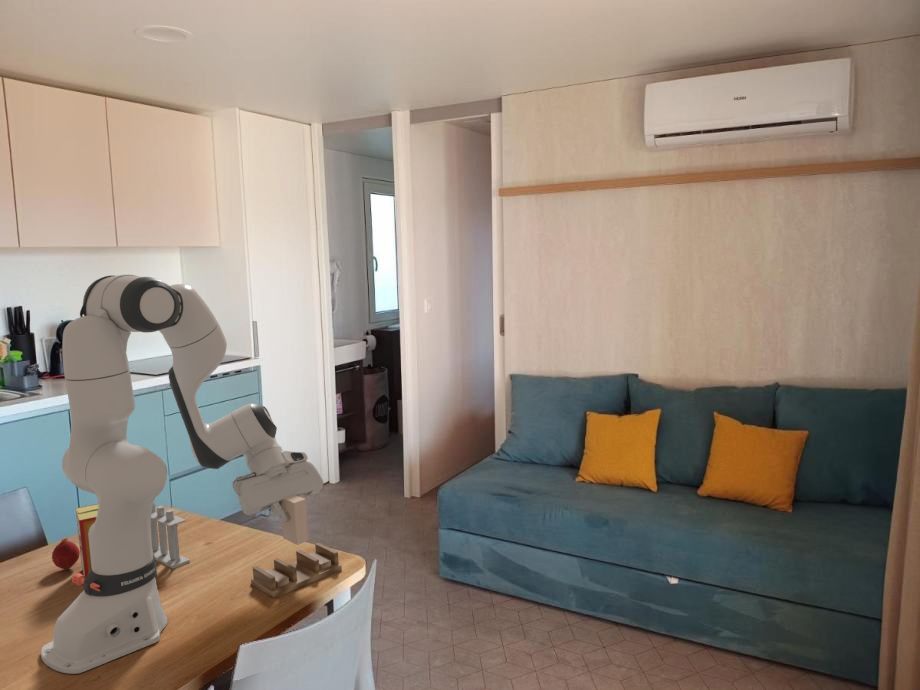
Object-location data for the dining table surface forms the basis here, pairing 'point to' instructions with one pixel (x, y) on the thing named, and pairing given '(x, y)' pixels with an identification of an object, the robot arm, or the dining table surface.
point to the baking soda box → (85, 533)
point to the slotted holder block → (296, 571)
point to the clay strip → (295, 519)
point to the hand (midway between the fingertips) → (295, 517)
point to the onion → (65, 554)
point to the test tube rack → (161, 551)
